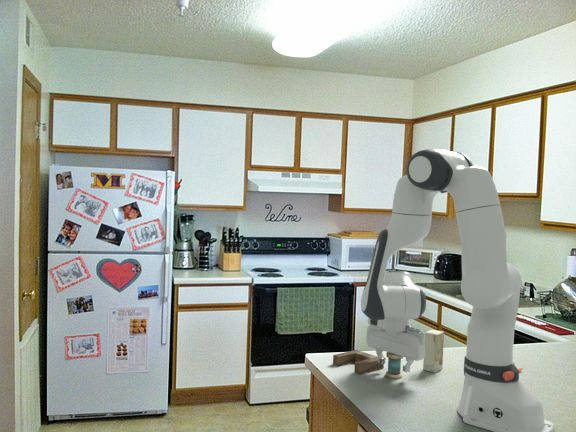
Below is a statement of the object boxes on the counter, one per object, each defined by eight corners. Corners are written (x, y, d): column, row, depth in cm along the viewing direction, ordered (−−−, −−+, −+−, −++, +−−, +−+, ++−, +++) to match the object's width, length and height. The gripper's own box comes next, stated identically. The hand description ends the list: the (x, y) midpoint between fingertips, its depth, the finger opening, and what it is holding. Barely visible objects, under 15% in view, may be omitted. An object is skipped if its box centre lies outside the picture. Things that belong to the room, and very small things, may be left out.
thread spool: (405, 376, 162) (406, 354, 162) (395, 380, 159) (396, 357, 159) (392, 372, 166) (393, 350, 166) (382, 375, 163) (383, 352, 163)
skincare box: (435, 373, 167) (437, 334, 166) (422, 370, 169) (424, 332, 169) (443, 368, 172) (444, 331, 171) (430, 365, 174) (431, 328, 174)
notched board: (383, 367, 170) (383, 358, 170) (360, 374, 163) (360, 364, 163) (356, 358, 179) (356, 349, 179) (332, 364, 172) (333, 355, 172)
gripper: (430, 328, 156) (428, 374, 156) (377, 315, 172) (375, 357, 172) (417, 331, 152) (415, 379, 152) (364, 317, 168) (362, 360, 168)
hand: (393, 367), depth 162 cm, fingers open, 8 cm apart
